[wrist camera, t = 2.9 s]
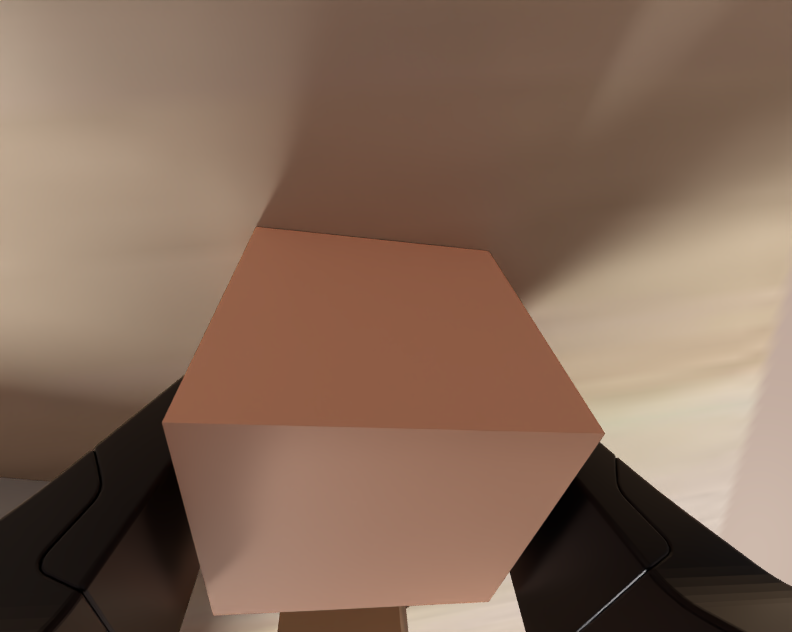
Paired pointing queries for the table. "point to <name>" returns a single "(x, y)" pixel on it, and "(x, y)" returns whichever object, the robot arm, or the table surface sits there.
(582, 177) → the table surface
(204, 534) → the terracotta cube
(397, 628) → the walnut cube
